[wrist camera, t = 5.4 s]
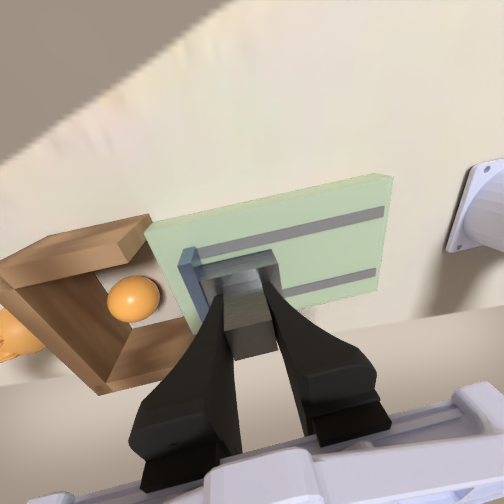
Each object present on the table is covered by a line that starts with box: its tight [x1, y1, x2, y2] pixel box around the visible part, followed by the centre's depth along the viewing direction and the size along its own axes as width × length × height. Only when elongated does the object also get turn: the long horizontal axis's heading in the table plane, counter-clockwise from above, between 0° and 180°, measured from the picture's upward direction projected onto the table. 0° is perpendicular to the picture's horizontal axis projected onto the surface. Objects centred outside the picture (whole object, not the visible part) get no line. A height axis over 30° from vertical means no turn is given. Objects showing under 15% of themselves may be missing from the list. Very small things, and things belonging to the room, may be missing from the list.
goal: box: [0, 214, 196, 396], centre depth 15 cm, size 7×11×5 cm, turn 11°
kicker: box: [177, 246, 283, 361], centre depth 13 cm, size 6×7×6 cm
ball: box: [107, 276, 160, 323], centre depth 16 cm, size 4×4×4 cm
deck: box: [144, 173, 393, 335], centre depth 17 cm, size 17×10×2 cm, turn 101°
